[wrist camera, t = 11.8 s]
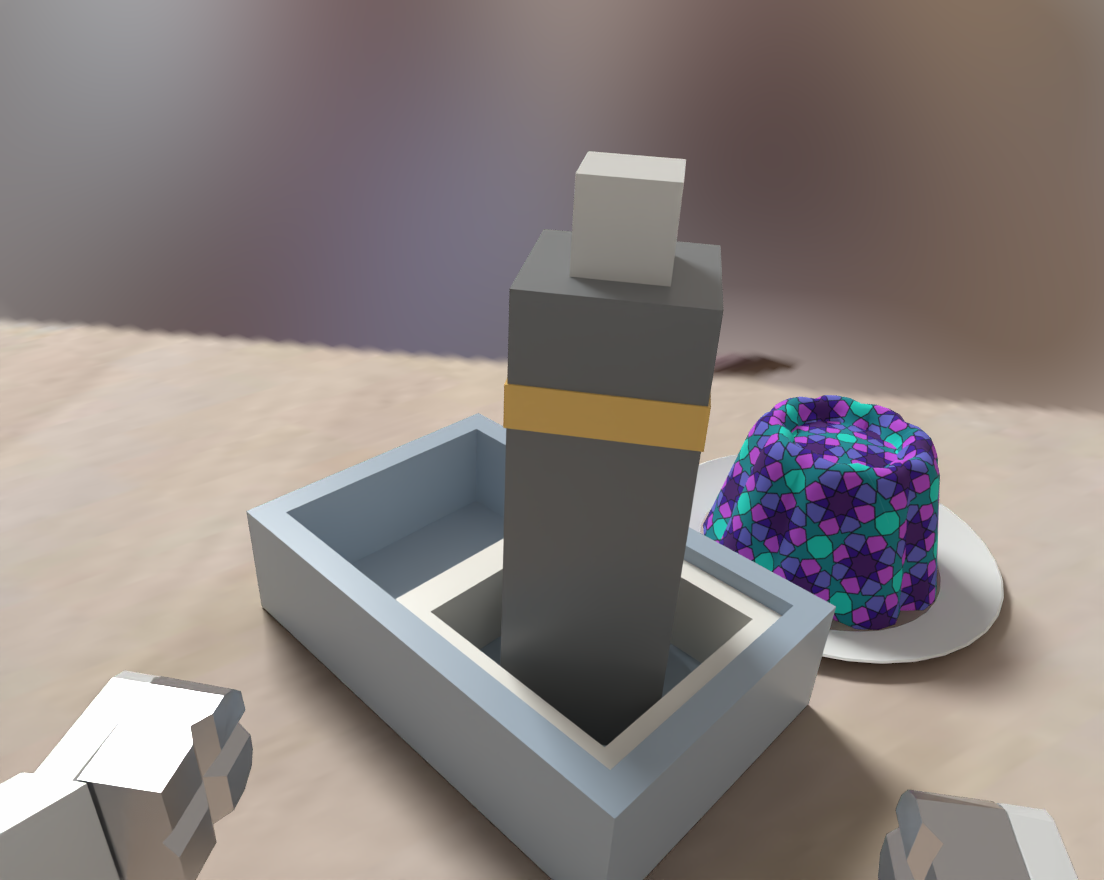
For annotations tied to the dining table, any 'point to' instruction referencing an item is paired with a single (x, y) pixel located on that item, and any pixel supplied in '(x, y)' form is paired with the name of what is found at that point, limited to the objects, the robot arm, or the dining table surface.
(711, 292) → the grey bottle
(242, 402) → the dining table surface
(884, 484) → the pudding
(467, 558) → the walled box
